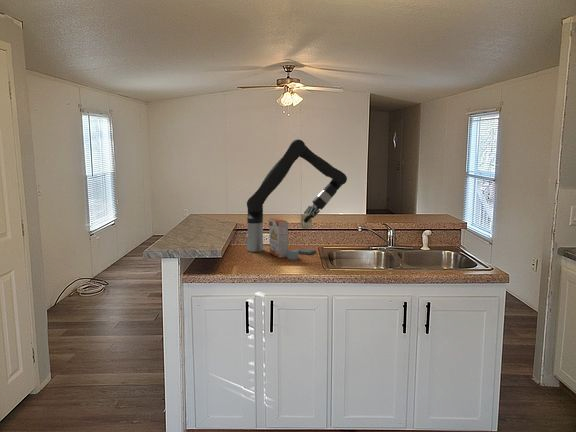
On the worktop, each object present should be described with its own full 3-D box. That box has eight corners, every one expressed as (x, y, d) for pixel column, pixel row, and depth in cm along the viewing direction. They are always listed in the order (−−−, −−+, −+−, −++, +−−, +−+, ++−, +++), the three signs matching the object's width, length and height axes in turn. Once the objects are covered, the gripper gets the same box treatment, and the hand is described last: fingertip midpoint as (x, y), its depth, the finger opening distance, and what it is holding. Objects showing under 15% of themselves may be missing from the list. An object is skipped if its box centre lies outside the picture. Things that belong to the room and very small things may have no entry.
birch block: (300, 227, 288) (300, 214, 287) (308, 227, 289) (308, 213, 288) (303, 228, 283) (303, 215, 282) (311, 228, 285) (311, 214, 284)
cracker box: (269, 253, 287) (268, 218, 284) (278, 252, 289) (278, 217, 286) (278, 258, 274) (278, 221, 271) (288, 257, 277) (288, 220, 274)
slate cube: (287, 258, 273) (287, 251, 273) (292, 257, 277) (292, 249, 276) (293, 259, 271) (293, 252, 270) (298, 258, 274) (298, 250, 274)
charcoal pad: (295, 253, 288) (295, 250, 288) (303, 250, 294) (303, 248, 294) (308, 255, 282) (308, 252, 282) (316, 252, 289) (316, 250, 289)
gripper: (313, 194, 293) (294, 215, 291) (322, 196, 279) (303, 218, 277) (321, 202, 295) (303, 223, 293) (331, 205, 282) (311, 227, 280)
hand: (303, 221), depth 285 cm, fingers closed on birch block, 5 cm apart
